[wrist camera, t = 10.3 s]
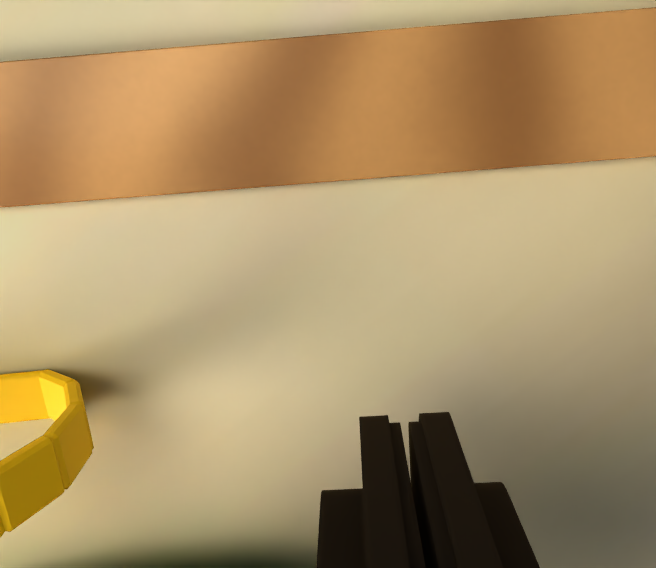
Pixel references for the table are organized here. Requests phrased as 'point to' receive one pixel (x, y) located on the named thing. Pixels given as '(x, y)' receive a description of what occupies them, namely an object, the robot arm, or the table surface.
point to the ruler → (329, 108)
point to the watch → (41, 442)
